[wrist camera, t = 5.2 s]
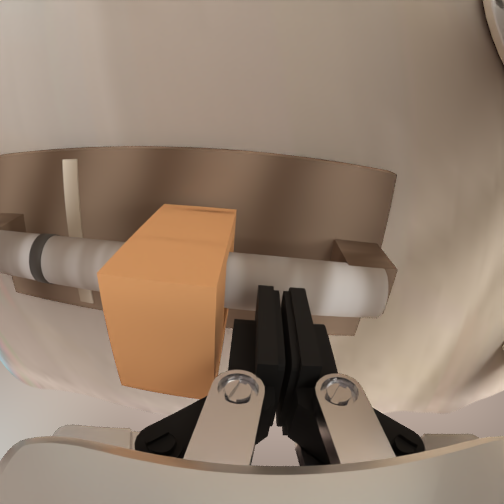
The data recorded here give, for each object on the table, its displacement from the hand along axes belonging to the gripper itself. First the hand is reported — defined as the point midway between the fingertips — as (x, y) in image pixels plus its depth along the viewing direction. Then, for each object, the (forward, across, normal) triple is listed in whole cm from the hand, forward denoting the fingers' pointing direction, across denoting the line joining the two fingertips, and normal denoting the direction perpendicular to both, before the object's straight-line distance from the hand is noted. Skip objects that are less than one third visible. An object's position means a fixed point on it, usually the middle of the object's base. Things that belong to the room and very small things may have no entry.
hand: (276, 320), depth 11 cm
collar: (+5, +4, 0) cm, 6 cm away
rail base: (+6, +6, 0) cm, 9 cm away
